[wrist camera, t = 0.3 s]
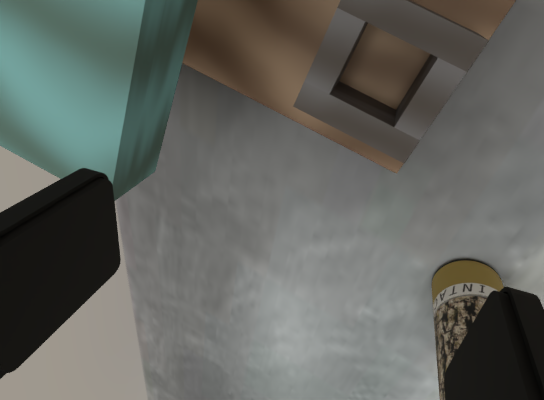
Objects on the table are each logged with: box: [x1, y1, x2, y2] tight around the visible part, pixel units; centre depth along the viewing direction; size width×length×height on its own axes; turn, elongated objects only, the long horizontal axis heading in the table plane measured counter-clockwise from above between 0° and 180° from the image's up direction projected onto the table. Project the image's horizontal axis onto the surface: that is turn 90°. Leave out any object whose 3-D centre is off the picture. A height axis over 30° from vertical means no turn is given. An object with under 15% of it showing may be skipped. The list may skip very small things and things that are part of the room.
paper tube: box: [432, 260, 504, 400], centre depth 31 cm, size 7×7×25 cm
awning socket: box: [0, 0, 516, 201], centre depth 25 cm, size 18×27×22 cm, turn 67°
